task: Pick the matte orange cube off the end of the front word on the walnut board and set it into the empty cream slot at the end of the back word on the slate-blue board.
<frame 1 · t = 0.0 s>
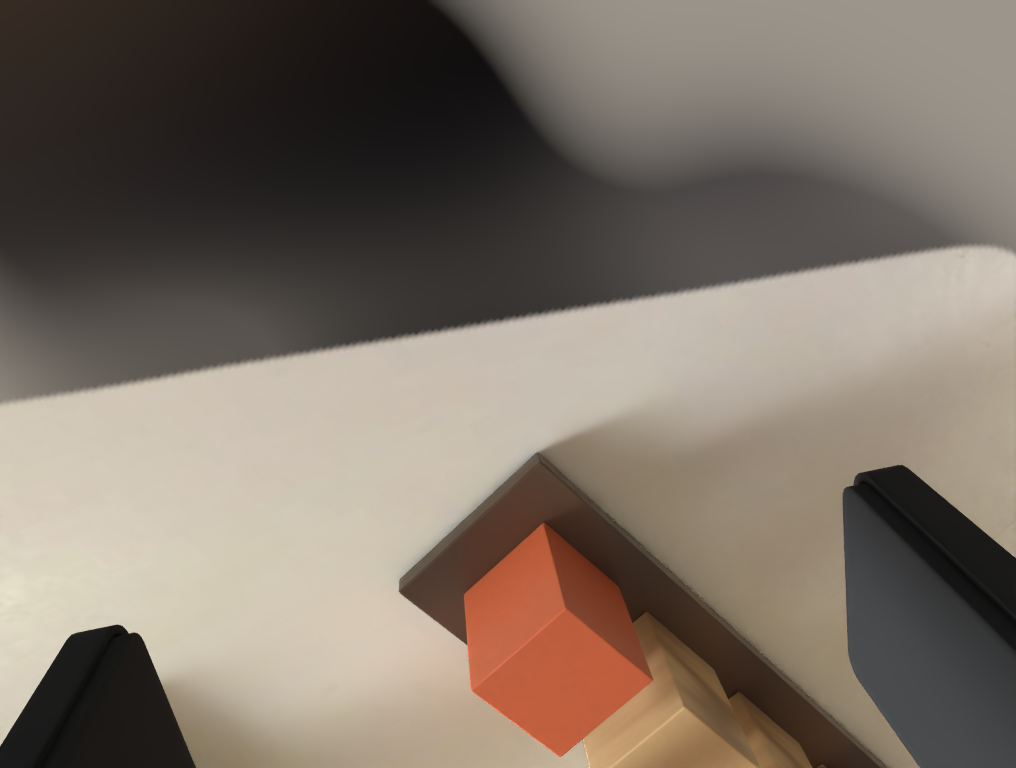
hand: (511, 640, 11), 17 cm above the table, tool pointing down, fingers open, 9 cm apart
matte orange cube: (542, 590, 30), point 1 cm above the table, touching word
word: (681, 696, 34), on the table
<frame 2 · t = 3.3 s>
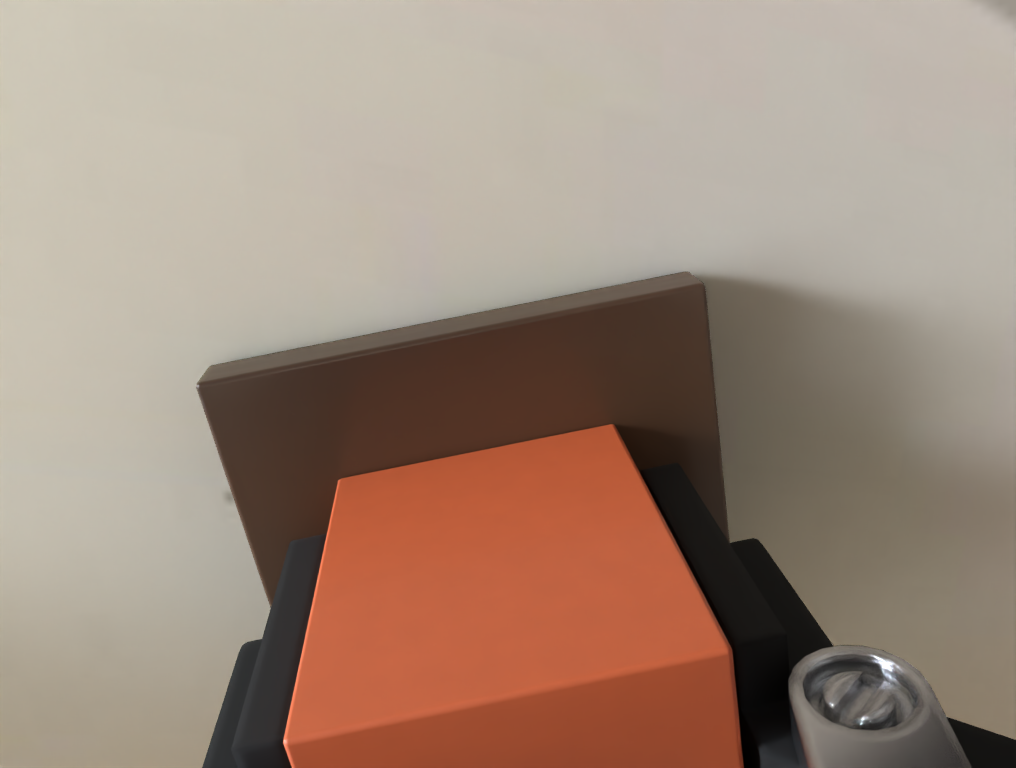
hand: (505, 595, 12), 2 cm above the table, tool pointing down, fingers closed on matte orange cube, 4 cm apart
matte orange cube: (501, 567, 13), point 1 cm above the table, touching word, gripper
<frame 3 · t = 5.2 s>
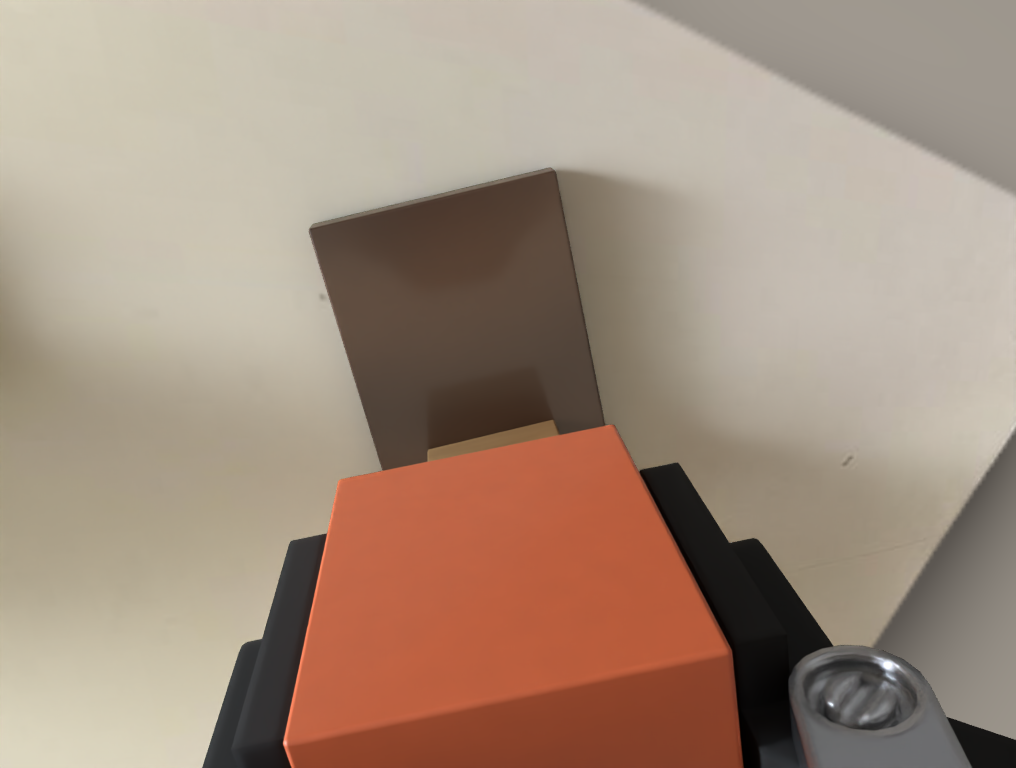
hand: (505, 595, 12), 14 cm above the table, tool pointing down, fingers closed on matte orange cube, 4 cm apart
matte orange cube: (501, 568, 13), point 14 cm above the table, touching gripper
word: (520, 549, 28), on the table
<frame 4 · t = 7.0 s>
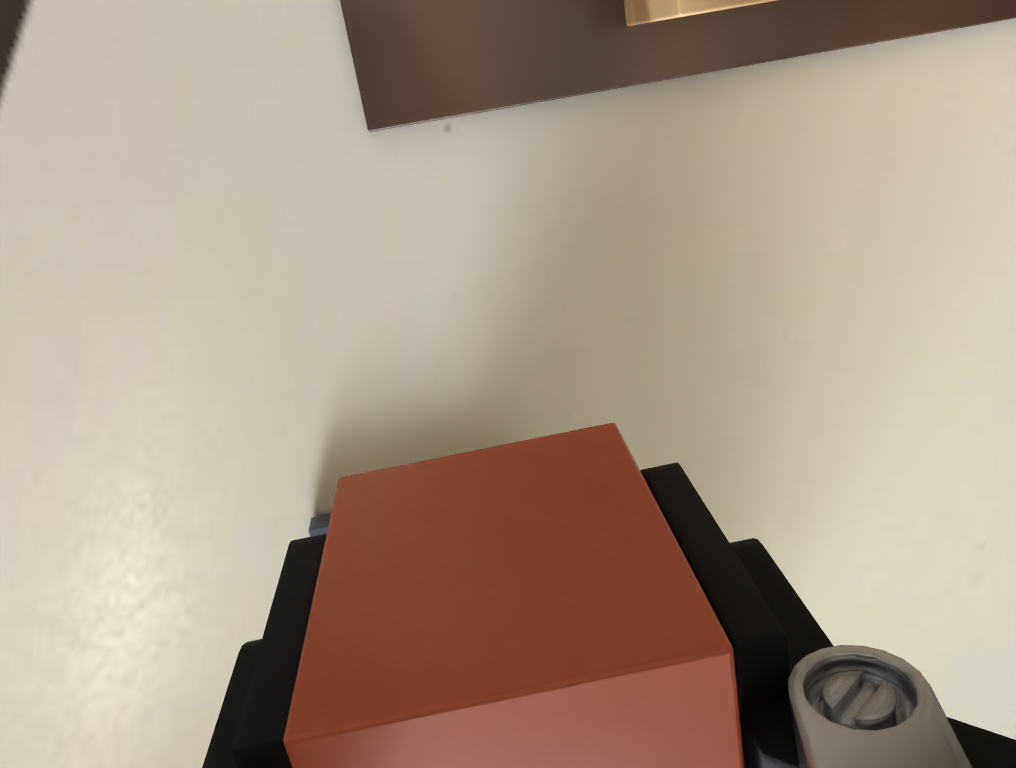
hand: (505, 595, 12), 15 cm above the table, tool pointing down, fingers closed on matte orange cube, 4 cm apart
matte orange cube: (501, 566, 13), point 14 cm above the table, touching gripper
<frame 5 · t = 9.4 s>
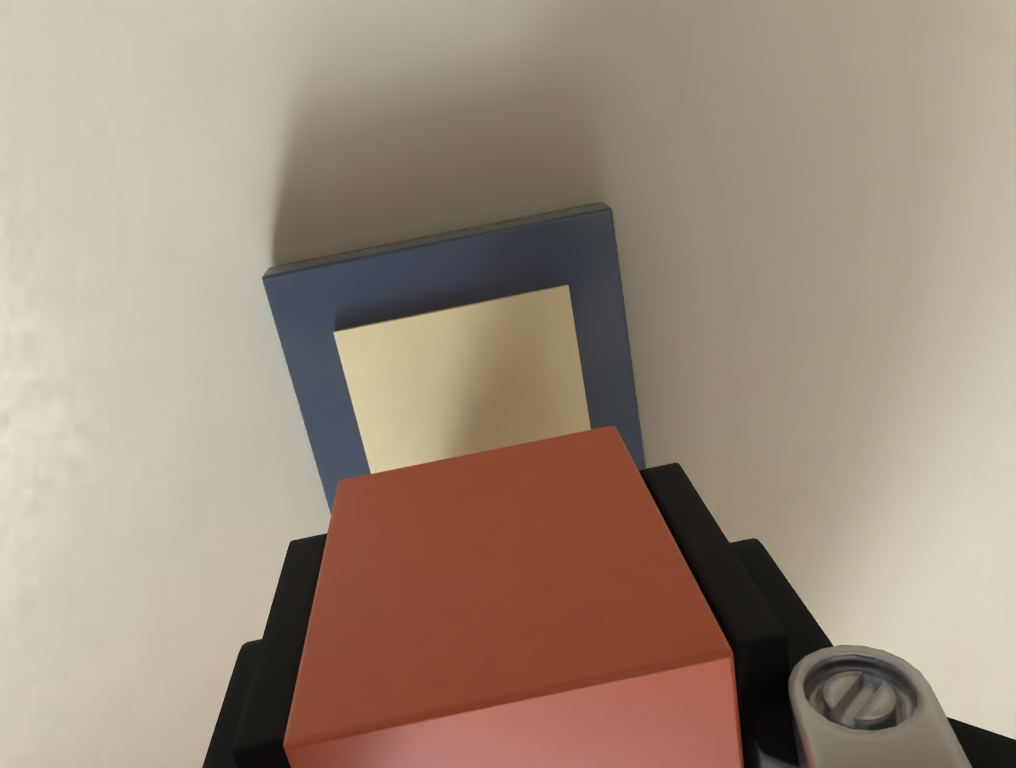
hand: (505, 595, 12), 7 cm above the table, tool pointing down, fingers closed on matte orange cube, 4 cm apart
matte orange cube: (501, 569, 13), point 6 cm above the table, touching gripper
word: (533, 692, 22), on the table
when the fingers open (2 cm above the table, at t = 11.1 s): matte orange cube stays where it is, resting on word.
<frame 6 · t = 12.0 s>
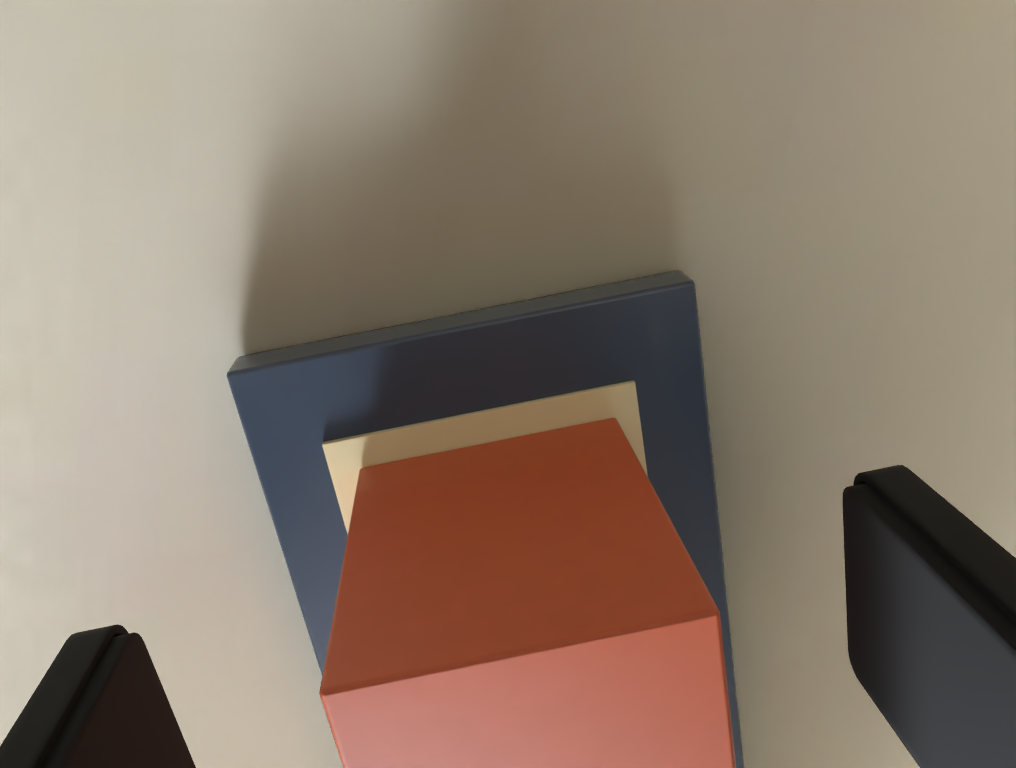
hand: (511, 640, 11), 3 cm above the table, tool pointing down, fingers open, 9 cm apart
matte orange cube: (510, 552, 14), point 1 cm above the table, touching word
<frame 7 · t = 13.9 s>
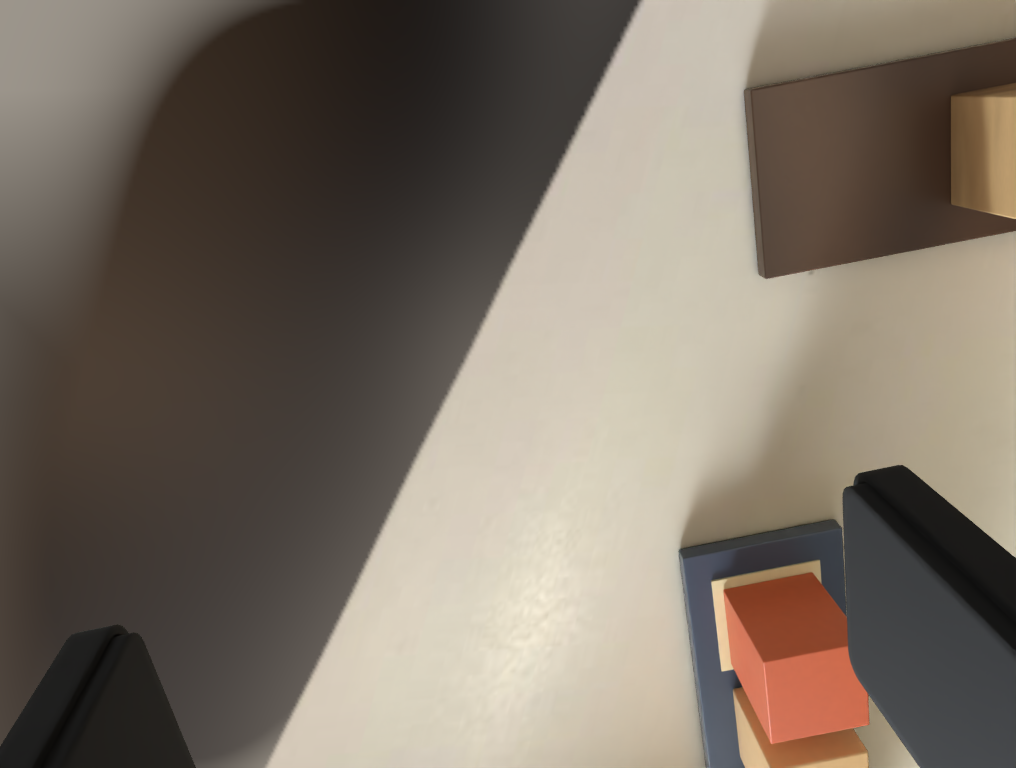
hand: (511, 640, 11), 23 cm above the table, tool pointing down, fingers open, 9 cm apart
matte orange cube: (771, 618, 37), point 1 cm above the table, touching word
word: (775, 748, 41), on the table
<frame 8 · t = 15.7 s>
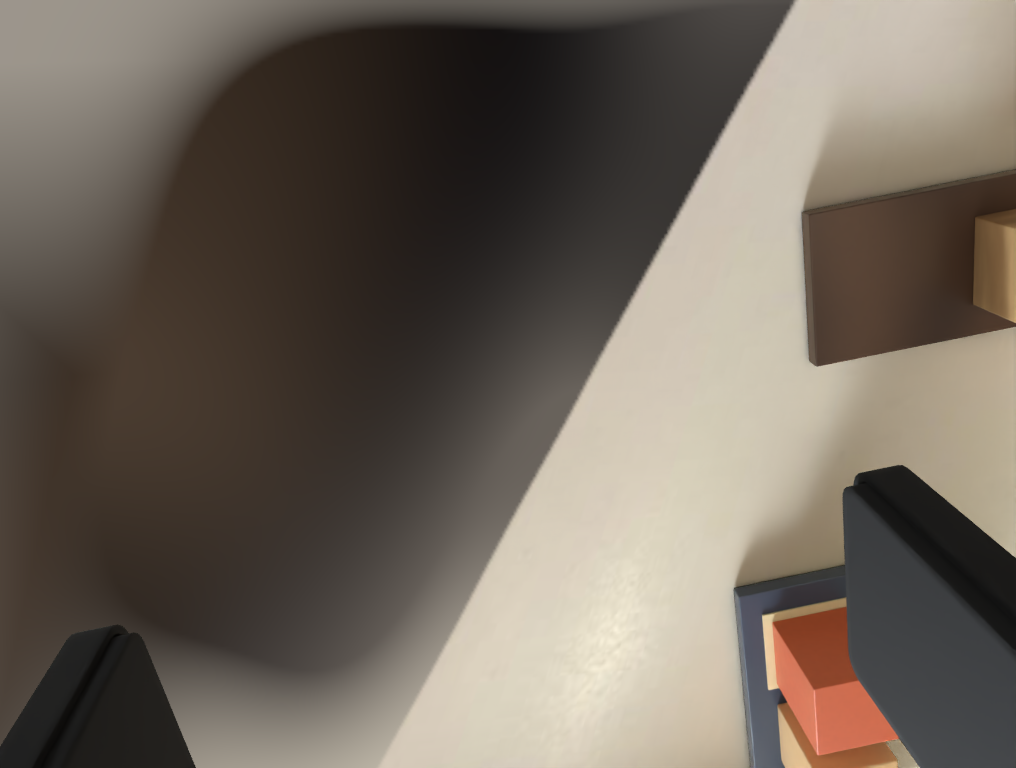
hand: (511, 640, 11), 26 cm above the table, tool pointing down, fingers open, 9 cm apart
matte orange cube: (811, 645, 44), point 1 cm above the table, touching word
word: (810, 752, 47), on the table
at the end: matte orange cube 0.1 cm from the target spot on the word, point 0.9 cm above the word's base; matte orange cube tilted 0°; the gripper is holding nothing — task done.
